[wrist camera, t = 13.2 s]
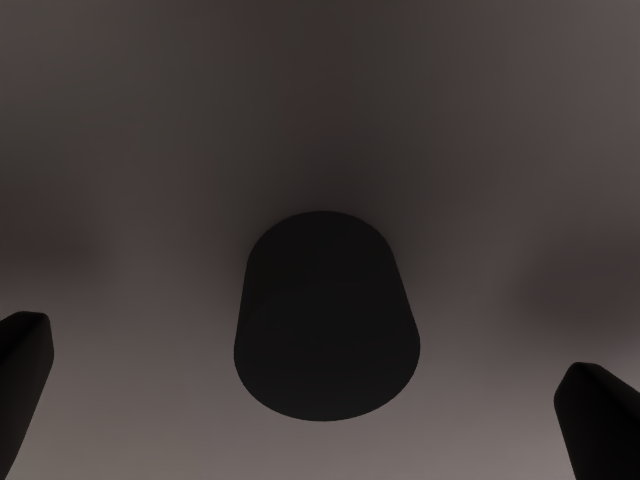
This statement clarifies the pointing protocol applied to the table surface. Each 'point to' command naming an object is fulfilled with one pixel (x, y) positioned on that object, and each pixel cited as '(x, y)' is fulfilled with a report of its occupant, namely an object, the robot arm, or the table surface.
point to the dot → (324, 320)
